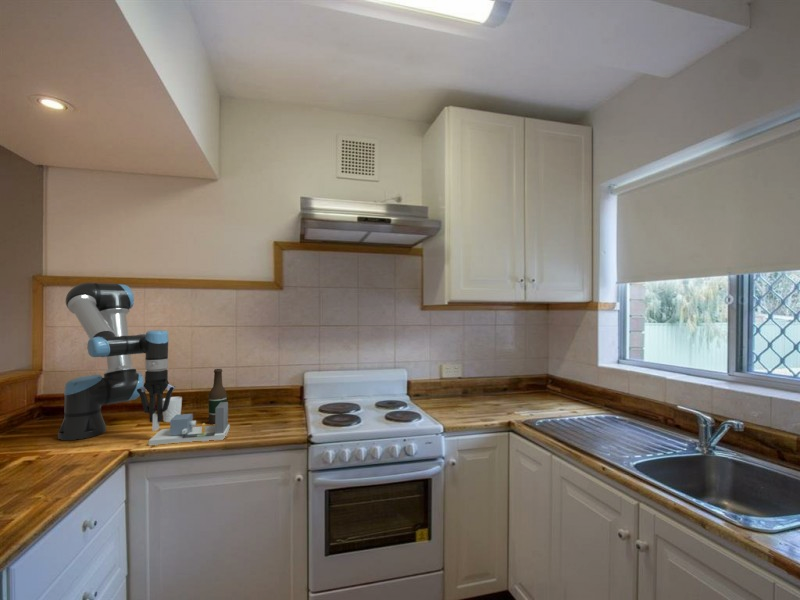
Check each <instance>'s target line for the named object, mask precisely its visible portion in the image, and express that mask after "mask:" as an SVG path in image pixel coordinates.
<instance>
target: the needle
mask: <svg viewBox="0 0 800 600" xmlns="http://www.w3.org/2000/svg"><path fill="white" fill-rule="evenodd" d="M201 426H202V434H204V433H205V426H206V422H203V423H202V424H201Z"/></svg>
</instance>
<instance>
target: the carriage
mask: <svg viewBox="0 0 800 600" xmlns="http://www.w3.org/2000/svg"><path fill="white" fill-rule="evenodd" d="M193 419H194V414H193V413H181V414H179V415H176V416H174V417H173V418H172V419H171V420H170V422H169V424H170V426H169V429H170V436H174V435H186V434H188V433H189V432H190V431H191V430H192V428H193V427H197V420H193Z"/></svg>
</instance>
